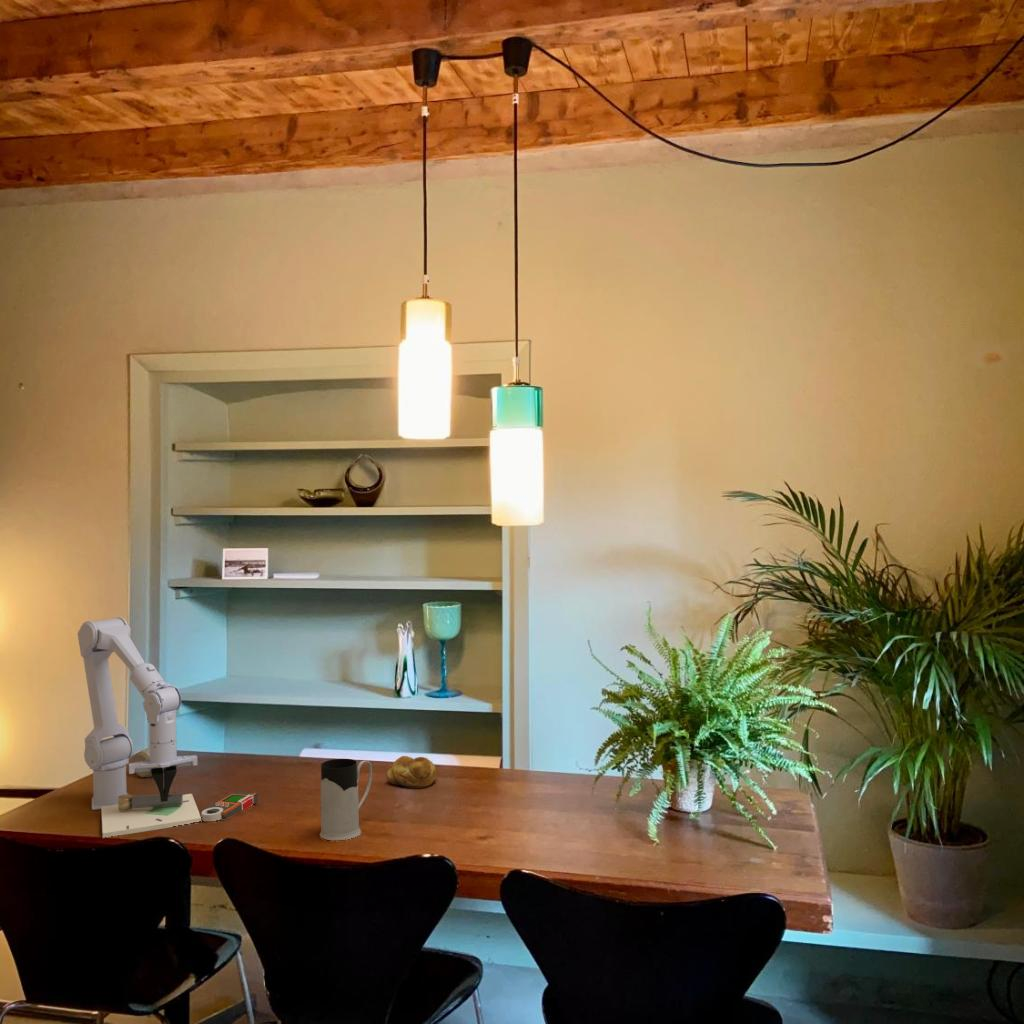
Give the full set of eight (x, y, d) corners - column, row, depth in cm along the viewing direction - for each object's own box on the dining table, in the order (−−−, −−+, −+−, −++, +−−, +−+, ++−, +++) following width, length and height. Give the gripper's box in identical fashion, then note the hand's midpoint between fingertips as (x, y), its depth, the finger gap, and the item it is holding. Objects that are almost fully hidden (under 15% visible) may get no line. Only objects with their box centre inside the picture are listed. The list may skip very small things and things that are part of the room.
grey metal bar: (116, 811, 204) (116, 798, 204) (120, 806, 207) (120, 794, 207) (180, 807, 206) (180, 794, 206) (183, 802, 209) (183, 790, 209)
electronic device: (194, 812, 200) (235, 789, 214) (194, 825, 200) (235, 801, 214) (219, 815, 198) (259, 791, 212) (220, 828, 198) (259, 803, 212)
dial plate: (101, 811, 209) (101, 805, 209) (191, 797, 217) (191, 792, 217) (102, 838, 191) (102, 832, 191) (201, 822, 199) (201, 817, 199)
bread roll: (379, 786, 223) (379, 754, 223) (399, 776, 232) (399, 745, 232) (424, 792, 218) (423, 759, 218) (443, 781, 227) (443, 749, 227)
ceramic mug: (130, 777, 236) (130, 748, 236) (155, 769, 243) (155, 740, 243) (159, 782, 231) (159, 752, 231) (184, 774, 239) (183, 745, 239)
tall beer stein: (310, 836, 189) (309, 765, 189) (357, 817, 201) (356, 750, 201) (340, 844, 184) (338, 771, 184) (387, 823, 196) (385, 755, 196)
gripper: (129, 749, 198) (130, 810, 198) (198, 740, 204) (199, 800, 204) (128, 741, 204) (129, 801, 204) (195, 734, 210) (196, 791, 210)
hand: (164, 800), depth 204 cm, fingers closed
